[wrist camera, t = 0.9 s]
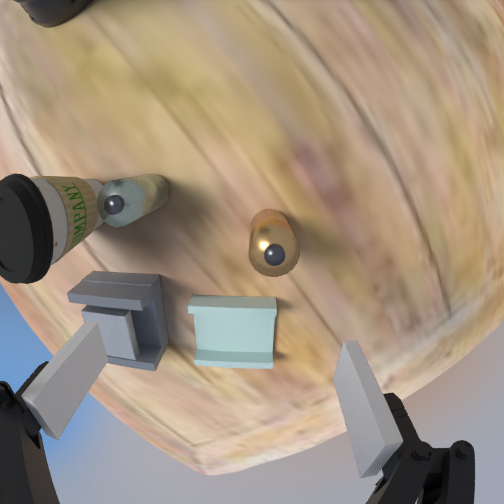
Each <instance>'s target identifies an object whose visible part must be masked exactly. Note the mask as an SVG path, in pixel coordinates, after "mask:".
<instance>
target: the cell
mask: <svg viewBox="0 0 504 504" xmlns="http://www.w3.org/2000/svg"><path fill="white" fill-rule="evenodd" d="M299 254H300V250H299V245H298V243H297V240H296V238H295V236H294V234H293V232H292V230H291V228H290V226H289V224H288V222H287V220H286V218H285V216H284V215H283V214H282V213H281V212H279V211H277V210H274V209H265V210H262V211H260V212H259V213H258V214H256V216H255V217H254V218H253V221H252V224H251V234H250V244H249V259H250V262H251V264H252V266H253V267H254V268H255V269H256V270H257V271H258V272H259V273H261V274H263V275H265V276H269V277H278V276H282V275H285V274H287V273H288V272H290V271H291V270H292V269H293V268H294V267H295V265H296V264H297V262H298V259H299Z"/></svg>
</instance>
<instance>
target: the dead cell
mask: <svg viewBox="0 0 504 504" xmlns="http://www.w3.org/2000/svg"><path fill="white" fill-rule="evenodd" d="M169 196H170V187H169V184H168V182H167V180H166V179H165V178H164V177H162V176H161V175H158V174H149V175H142V176H136V177H130V178H124V179H118V180H112V181H109V182H107V183H106V184H105V185H104V186H103V187H102V188H101V190H100V192H99V194H98V198H97V208H98V212H99V214H100V216H101V218H102V219H103V221H104V222H105V223H107V224H108V225H110V226H112V227H123V226H126V225H128V224H129V223H131V222H133V221H135V220H137V219H139V218H141V217H143V216H145V215H147V214H148V213H150V212H152V211H154V210H156V209H158V208H160V207H162V206H163V205H165V204H166V202H167V201H168V199H169Z"/></svg>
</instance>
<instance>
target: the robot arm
mask: <svg viewBox="0 0 504 504" xmlns="http://www.w3.org/2000/svg"><path fill="white" fill-rule="evenodd" d="M14 1H16V2H18V3H20V4H21V6H22V7H23V9H24V10H25V11H26V12H27V13H28V14H29V16H30V18H31V20H32V21H33V22H34V23H36V24H38V25H41V26H43V27H52V26H56V25H58V24H61V23H63V22H64V21H66V20H68V19H70V18H71V17H73V16H74V15H76V14H77V13H78V12H80V11H81V10H82V9H83V8H84V7H86V6H87V5H88V4H89V3H90V2H91V1H92V0H14ZM107 362H108V357H107V354H106V351H105V347H104V344H103V340H102V336H101V332H100V328H99V324H98V322H94V321H88V320H87V321H86V322H85V323H84V324H83V325H82V326H81V328H80V329H79V330H78V331H77V332H76V333H75V334H74V335H73V336H72V337H71V338H70V339H69V340H68V342H67V343H66V344H65V345H64V346H63V347H62V348H61V349H60V350H59V352H58V353H57V354H56V355H55V356H54V357H53V358H52V360H51V361H50V362H48V361H46V362H45V363H43V364H41V365H39V366H38V368H37V369H36V370H35V371H34V373H32V374H31V376H30V378H28V379H27V380H26V382H25V383H24V384H23V385H22V386H21V388H20V389H19V390H18V391H17V392H16V393H15V394H14V392H13V391H12V389H11V387H10V385H9V384H8V383H7V382H5V381H0V504H60V503H59V500H58V497H57V494H56V491H55V488H54V485H53V482H52V479H51V475H50V471H49V468H48V464H47V460H46V455H45V451H44V446H43V441H42V436H41V434H40V432H39V431H40V429H41V428H42V429H43V430H44V432H45V433H46V434H47V435H48V436H50V437H52V438H55V439H57V440H59V438H60V437H61V435H62V433H63V432H64V430H65V428H66V426H67V425H68V423H69V422H70V420H71V418H72V417H73V415H74V413H75V412H76V410H77V408H78V407H79V405H80V403H81V402H82V400H83V399H84V397H85V396H86V394H87V392H88V391H89V389H90V388H91V386H92V385H93V383H94V382H95V380H96V379H97V377H98V375H99V374H100V372H101V371H102V369H103V368H104V366H105V365H106V363H107ZM333 382H334V385H335V388H336V392H337V395H338V399H339V402H340V406H341V409H342V413H343V416H344V420H345V423H346V427H347V430H348V434H349V438H350V441H351V445H352V449H353V453H354V457H355V460H356V464H357V468H358V472H359V476H360V478H364V477H369V476H374V475H377V474H378V473H379V471H380V470H381V469H382V471H383V474H384V476H383V477H382V478H381V479H380V480H379V481H378V482H377V483H376V486H377V487H376V488H375V490H374V492H373V493H372V495H371V496H370V498H369V499H368V501H367V503H366V504H415V502H416V500H417V498H418V500H417V504H474V491H475V454H474V449H473V446H472V445H471V444H470V443H468V442H467V441H463V440H460V441H457V442H455V443H453V445H452V446H451V447H450V448H432V447H431V446H430V445H429V444H428V443H426V442H423V441H421V440H420V439H419V437H418V435H417V433H416V430H415V428H414V426H413V424H412V422H411V420H410V418H409V416H408V414H407V412H406V410H405V409H404V405H403V403H402V401H401V399H399V398H398V397H397V396H396V395H395V394H394V393H387V394H383V393H382V391H381V389H380V387H379V385H378V382H377V380H376V378H375V376H374V374H373V372H372V370H371V368H370V366H369V363H368V361H367V359H366V357H365V355H364V353H363V351H362V349H361V347H360V345H359V343H358V341H343V345H342V349H341V353H340V356H339V360H338V364H337V367H336V371H335V374H334V377H333Z"/></svg>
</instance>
